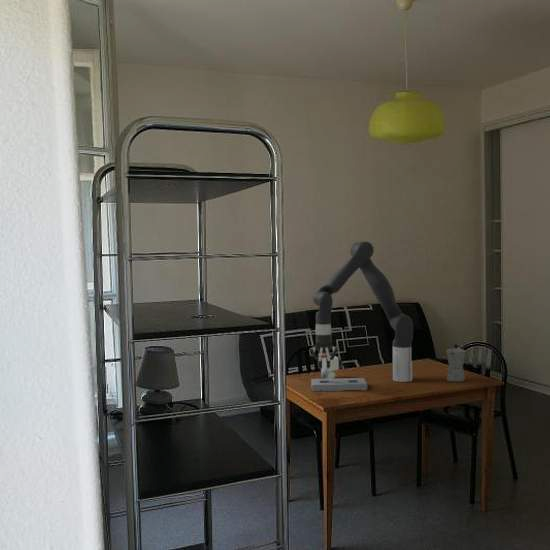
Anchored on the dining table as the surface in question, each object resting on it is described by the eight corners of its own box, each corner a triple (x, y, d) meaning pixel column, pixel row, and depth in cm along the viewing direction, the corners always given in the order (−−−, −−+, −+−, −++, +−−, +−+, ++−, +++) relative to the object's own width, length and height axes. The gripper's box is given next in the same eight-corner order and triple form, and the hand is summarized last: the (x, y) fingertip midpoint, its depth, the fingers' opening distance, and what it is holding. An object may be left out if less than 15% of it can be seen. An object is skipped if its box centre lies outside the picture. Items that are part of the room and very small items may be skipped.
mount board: (364, 384, 308) (364, 378, 307) (367, 390, 296) (367, 384, 295) (311, 384, 308) (311, 378, 308) (312, 391, 296) (312, 385, 296)
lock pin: (328, 376, 304) (327, 351, 303) (329, 378, 300) (328, 352, 299) (320, 376, 304) (319, 351, 303) (320, 378, 300) (320, 353, 299)
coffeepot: (461, 384, 304) (461, 347, 302) (442, 381, 309) (442, 346, 308) (470, 377, 317) (470, 342, 315) (451, 375, 322) (451, 340, 320)
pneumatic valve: (342, 378, 320) (342, 355, 319) (321, 380, 316) (320, 357, 316) (338, 376, 325) (337, 353, 324) (317, 378, 322) (316, 355, 321)
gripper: (337, 331, 304) (338, 366, 305) (308, 332, 304) (309, 367, 305) (338, 333, 296) (339, 369, 297) (309, 334, 296) (310, 370, 298)
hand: (324, 368), depth 301 cm, fingers closed on lock pin, 3 cm apart
